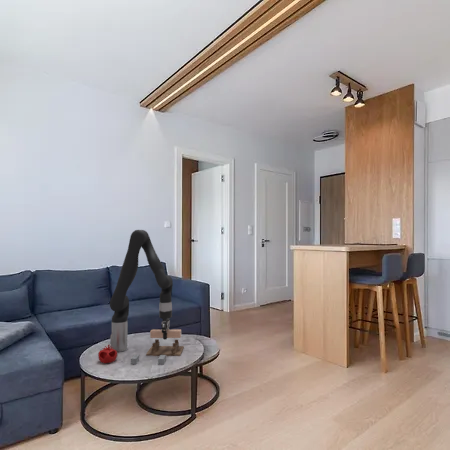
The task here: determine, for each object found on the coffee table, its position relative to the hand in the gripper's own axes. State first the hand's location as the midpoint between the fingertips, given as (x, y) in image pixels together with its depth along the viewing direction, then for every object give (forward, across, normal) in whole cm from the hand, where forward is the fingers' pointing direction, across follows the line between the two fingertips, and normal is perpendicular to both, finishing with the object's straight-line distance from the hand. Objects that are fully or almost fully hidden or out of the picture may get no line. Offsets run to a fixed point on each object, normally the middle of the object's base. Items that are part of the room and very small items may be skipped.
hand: (165, 338), depth 203 cm
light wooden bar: (-1, 0, 0) cm, 1 cm away
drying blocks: (+8, +17, -6) cm, 20 cm away
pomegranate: (+8, +16, -29) cm, 34 cm away
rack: (+8, 0, 0) cm, 8 cm away
